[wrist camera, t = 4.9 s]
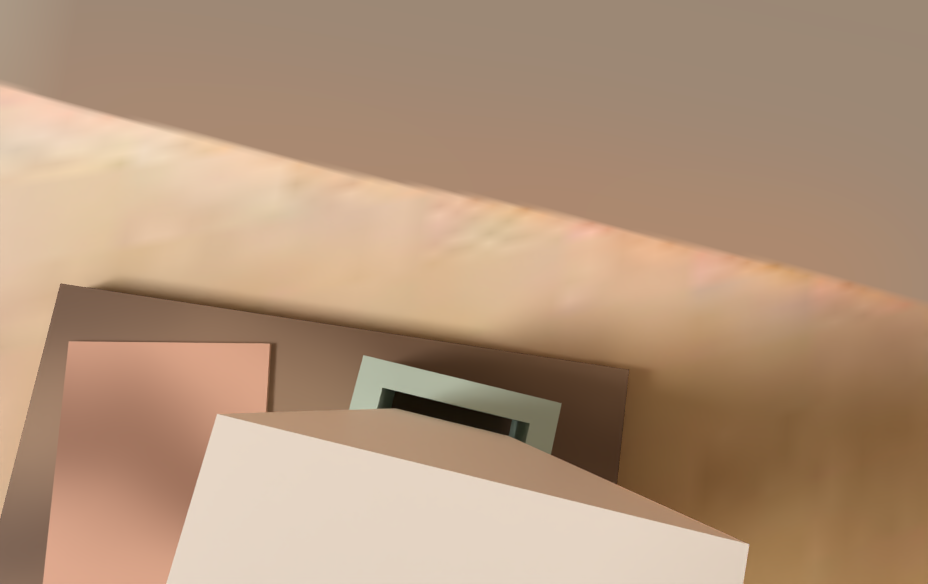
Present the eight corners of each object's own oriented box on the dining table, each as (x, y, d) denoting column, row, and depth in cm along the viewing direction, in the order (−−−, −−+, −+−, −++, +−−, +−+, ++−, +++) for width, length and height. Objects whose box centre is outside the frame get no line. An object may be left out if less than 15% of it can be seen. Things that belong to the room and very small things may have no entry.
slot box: (480, 662, 18) (490, 735, 14) (313, 621, 18) (276, 682, 14) (537, 403, 19) (561, 403, 15) (380, 365, 19) (363, 355, 15)
